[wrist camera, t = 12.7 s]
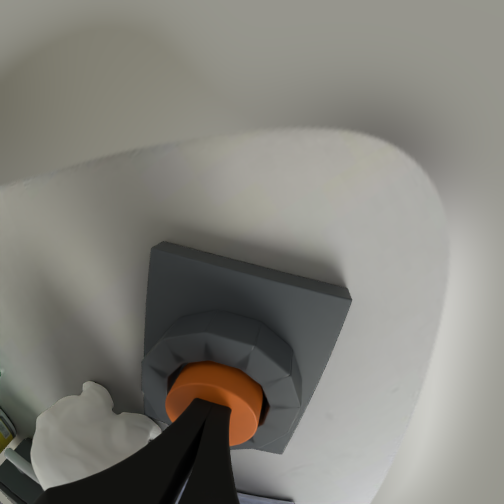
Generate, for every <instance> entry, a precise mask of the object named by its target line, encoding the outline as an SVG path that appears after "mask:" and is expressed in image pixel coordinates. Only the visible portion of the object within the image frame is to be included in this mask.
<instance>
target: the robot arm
mask: <svg viewBox="0 0 504 504" xmlns="http://www.w3.org/2000/svg"><path fill="white" fill-rule="evenodd" d="M231 411H232V410H231V409H230V407H227V406H223V405H220V404H216V403H213V402H209V401H206V400H203V399H200V398H195V399H193V401H192V402H191V403H190V405H189V406H188V407H187V408H186V409H185V411H184V412H183V413H182V414H181V415H180V416H179V417H178V418H177V419H176V420H175V421H174V422H173V423H172V424H171V425H170V426H169V427H167V428H166V429H165V430H164V431H163V432H162V433H161V434H160V435H158V436H157V437H156V438H155V439H153V440H152V441H151V442H149V443H148V444H147V445H146V446H144V447H143V448H141V449H140V450H138V451H137V452H135V453H134V454H132V455H131V456H129V457H128V458H126V459H124V460H122V461H121V462H119V463H117V464H115V465H113V466H111V467H109V468H107V469H105V470H103V471H101V472H98V473H96V474H93V475H91V476H88V477H86V478H83V479H80V480H77V481H74V482H71V483H67V484H63V485H59V486H55V487H50V488H48V489H46V490H45V491H44V492H43V493H42V494H41V495H40V496H39V497H38V498H37V499H36V500H35V502H34V503H33V504H295V503H294V502H289V501H282V500H275V499H269V498H263V497H257V496H252V495H247V494H242V493H238V492H237V491H236V487H235V482H234V477H233V472H232V465H231V457H230V445H229V424H230V416H231ZM191 471H192V472H191ZM190 473H191V474H190ZM189 475H190V476H189ZM188 477H189V479H188ZM0 504H2V503H1V502H0Z"/></svg>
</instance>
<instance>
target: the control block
mask: <svg viewBox="0 0 504 504" xmlns="http://www.w3.org/2000/svg"><path fill="white" fill-rule="evenodd" d="M351 302H352V298H351V296H350V293H349V290H348V289H347V288H344V287H340V286H336V285H332V284H328V283H324V282H320V281H316V280H312V279H308V278H304V277H300V276H296V275H292V274H288V273H284V272H280V271H276V270H272V269H268V268H264V267H260V266H256V265H252V264H249V263H245V262H241V261H237V260H233V259H229V258H225V257H221V256H218V255H214V254H210V253H206V252H202V251H198V250H195V249H191V248H187V247H183V246H179V245H176V244H172V243H168V242H164V241H163V242H161V243H159V244H158V245H156V246H154V247H152V248H151V255H150V265H149V275H148V287H147V301H146V317H145V338H144V359H143V361H142V391H143V393H144V415H146V416H149V417H151V418H154V419H157V420H159V421H162V422H164V423H167V424H168V425H169V426H170V425H171V424H172V421H171V420H170V418H169V417H168V415H167V412H166V408H165V401H166V397H167V395H168V393H169V391H170V390H171V388H172V386H173V384H174V383H175V381H176V379H177V378H178V376H179V374H180V372H181V371H182V369H183V368H184V367H185V366H186V365H187V364H188V363H192V362H200V361H207V360H210V361H213V362H217V363H220V364H224V365H227V366H231V367H234V368H238V369H240V370H242V371H243V372H244V373H246V374H247V375H248V376H249V377H251V378H252V379H253V380H255V381H256V382H257V383H258V384H260V385H261V387H262V390H263V401H262V407H261V412H260V417H259V422H258V427H257V430H256V432H255V434H254V435H253V436H252V437H251V438H250V439H249V440H247V441H246V442H244V443H241V444H238V445H234V446H230V450H235V449H256V450H261V451H266V452H271V453H276V454H282V453H283V452H284V450H285V448H286V446H287V444H288V442H289V441H290V439H291V437H292V435H293V433H294V431H295V429H296V427H297V425H298V424H299V422H300V420H301V418H302V416H303V414H304V412H305V410H306V408H307V406H308V404H309V401H310V399H311V397H312V395H313V393H314V391H315V389H316V387H317V385H318V382H319V380H320V378H321V376H322V374H323V371H324V369H325V367H326V365H327V362H328V360H329V358H330V355H331V353H332V351H333V348H334V346H335V343H336V341H337V338H338V336H339V334H340V331H341V329H342V326H343V323H344V321H345V318H346V316H347V313H348V310H349V308H350V305H351Z"/></svg>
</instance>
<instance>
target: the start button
mask: <svg viewBox="0 0 504 504" xmlns="http://www.w3.org/2000/svg"><path fill="white" fill-rule="evenodd" d="M195 398H200V399H203V400H206V401H209V402H213V403H216V404H220V405H223V406H227V407H230V409H231V410H232V411H231V416H230V424H229V445H230V446H234V445H238V444H241V443H244V442H246V441H247V440H249V439H250V438H251V437H252V436H253V435H254V434H255V432H256V430H257V427H258V422H259V417H260V412H261V407H262V401H263V390H262V387H261V385H260V384H258V383H257V382H256V381H255V380H253V379H252V378H251V377H249V376H248V375H247V374H246V373H244V372H243V371H242V370H240V369H238V368H234V367H231V366H227V365H224V364H220V363H217V362H213V361H210V360H207V361H200V362H192V363H188V364H187V365H186V366H185V367H184V368H183V369H182V371H181V372H180V374H179V376H178V378H177V379H176V381H175V383H174V384H173V386H172V388H171V390H170V391H169V393H168V395H167V397H166V401H165V408H166V412H167V415H168V417H169V418H170V420H171V421H172V423H173V422H174V421H175V420H176V419H177V418H178V417H179V416H180V415H181V414H182V413H183V412H184V411H185V409H186V408H187V407H188V406H189V405H190V403H191V402H192V401H193V399H195Z"/></svg>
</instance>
